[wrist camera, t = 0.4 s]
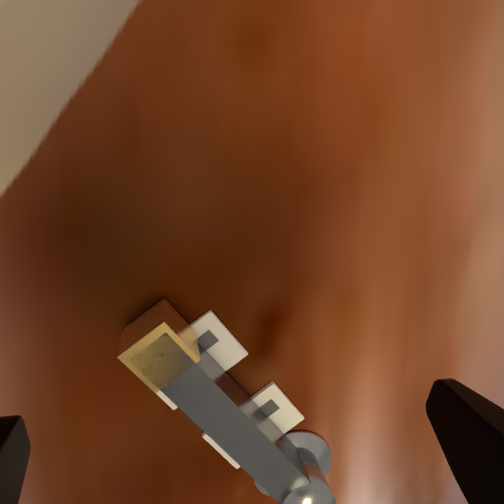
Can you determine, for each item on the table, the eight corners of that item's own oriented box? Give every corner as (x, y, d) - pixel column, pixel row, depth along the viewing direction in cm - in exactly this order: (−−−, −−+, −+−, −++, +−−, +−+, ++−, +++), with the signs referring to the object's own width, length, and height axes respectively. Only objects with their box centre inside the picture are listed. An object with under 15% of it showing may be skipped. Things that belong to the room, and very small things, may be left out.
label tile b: (173, 407, 25) (173, 411, 25) (132, 368, 24) (131, 371, 23) (247, 351, 25) (248, 355, 25) (210, 309, 24) (210, 311, 23)
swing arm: (325, 466, 29) (345, 509, 26) (286, 495, 29) (302, 541, 26) (168, 294, 22) (169, 322, 19) (119, 332, 22) (111, 366, 19)
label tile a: (236, 466, 28) (236, 470, 27) (201, 433, 26) (202, 437, 26) (303, 415, 28) (304, 419, 27) (272, 380, 26) (274, 384, 26)
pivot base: (281, 508, 30) (282, 511, 30) (236, 466, 28) (236, 469, 27) (343, 461, 30) (345, 464, 30) (303, 415, 28) (304, 418, 27)
